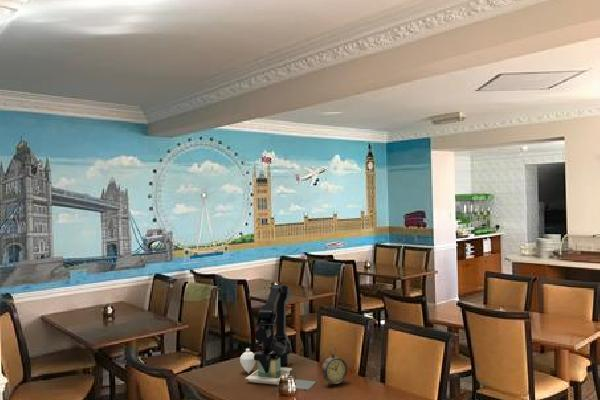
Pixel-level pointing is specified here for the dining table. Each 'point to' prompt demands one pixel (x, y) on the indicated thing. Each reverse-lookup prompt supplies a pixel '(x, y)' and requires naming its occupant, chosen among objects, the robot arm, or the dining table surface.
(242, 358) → the spinning top
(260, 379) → the white rectangular tray
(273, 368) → the tea tin
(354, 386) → the dining table surface
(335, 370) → the alarm clock
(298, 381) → the mat
